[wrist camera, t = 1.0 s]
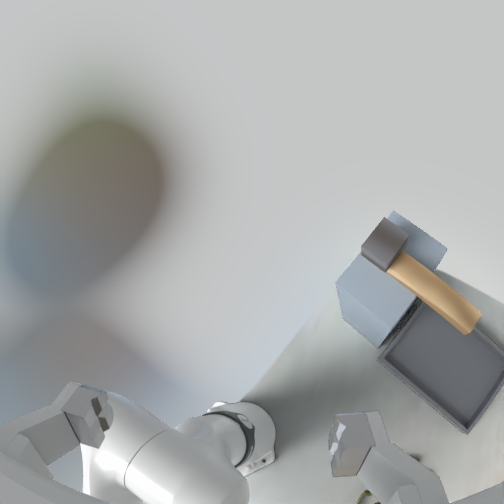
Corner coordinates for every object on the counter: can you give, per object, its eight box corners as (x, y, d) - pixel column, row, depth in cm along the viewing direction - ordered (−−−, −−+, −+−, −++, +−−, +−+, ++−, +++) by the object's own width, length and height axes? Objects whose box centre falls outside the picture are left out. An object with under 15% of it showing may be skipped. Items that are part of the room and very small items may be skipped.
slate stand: (377, 348, 59) (391, 328, 36) (343, 319, 64) (335, 282, 41) (417, 297, 60) (447, 248, 37) (383, 270, 65) (393, 210, 42)
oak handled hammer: (460, 341, 32) (474, 335, 27) (361, 262, 41) (361, 245, 36) (479, 311, 33) (494, 300, 28) (382, 236, 41) (384, 217, 37)
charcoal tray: (462, 432, 44) (467, 434, 41) (376, 359, 58) (378, 358, 55) (509, 363, 46) (516, 362, 43) (427, 294, 59) (430, 289, 56)
